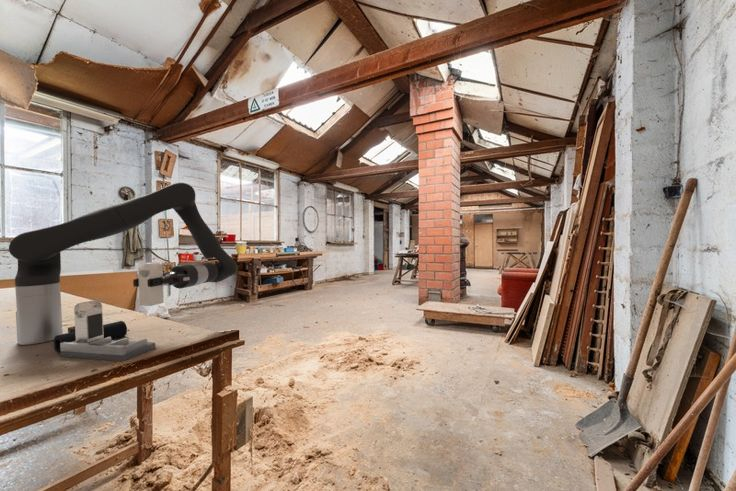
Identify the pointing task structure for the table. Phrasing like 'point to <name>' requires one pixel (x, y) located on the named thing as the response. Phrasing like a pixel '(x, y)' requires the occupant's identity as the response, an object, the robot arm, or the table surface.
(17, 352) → the table surface
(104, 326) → the pipe connector
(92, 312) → the bracket
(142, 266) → the finger
